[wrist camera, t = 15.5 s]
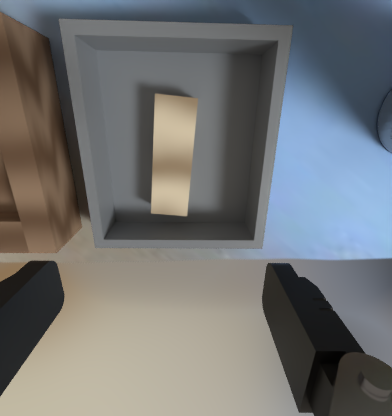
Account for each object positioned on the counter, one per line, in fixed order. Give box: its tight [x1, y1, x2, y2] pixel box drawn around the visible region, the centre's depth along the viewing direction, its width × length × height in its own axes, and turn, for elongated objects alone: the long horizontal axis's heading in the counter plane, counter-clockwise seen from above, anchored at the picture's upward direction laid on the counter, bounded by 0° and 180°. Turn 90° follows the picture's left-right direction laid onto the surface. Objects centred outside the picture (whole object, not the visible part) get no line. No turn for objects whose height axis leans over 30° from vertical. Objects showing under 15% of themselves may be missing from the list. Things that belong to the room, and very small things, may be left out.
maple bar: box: [151, 94, 198, 216], centre depth 25 cm, size 12×4×2 cm, turn 174°
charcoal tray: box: [59, 19, 293, 249], centre depth 24 cm, size 20×18×5 cm
